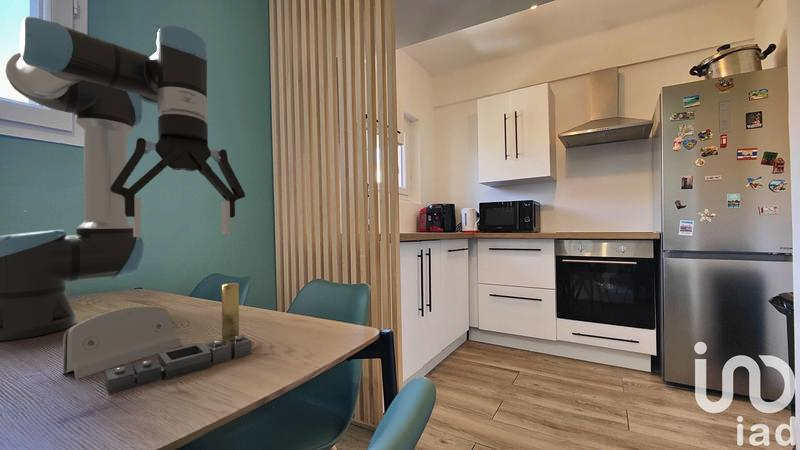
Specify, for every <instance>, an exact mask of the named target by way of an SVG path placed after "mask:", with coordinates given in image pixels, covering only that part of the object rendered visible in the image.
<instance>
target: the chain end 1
mask: <svg viewBox="0 0 800 450" xmlns="http://www.w3.org/2000/svg"><path fill="white" fill-rule="evenodd" d="M195 354H197V353H193V354H189V355H185V356H181V357H177V358H172V359H171V360H174V359H178V358H182V357H186V356H190V355H195ZM210 368H212V364H211V360H208V361H205V362H201V363H197V364H193V365H190V366H186V367H182V368H178V369H175V370H171V371H167V372H166V371H165V369H164V368H163V367H162V365H161V364H160V362H159V361H158V359H156V358H152V359H147V360H143V361H139V362H135V363H132V366H131V364H127V365H122V366H121V365H120V366H116V367H113V368H110V369H107V370H104V373H105V374H104V377H105V380H104V383H105V388H106V392H107V394H108V395H110V394H113V393H116V392H119V391H123V390H127V389H131V388H134V387H136V386H137V387H138V386H142V385H145V384H146V385H147V384H148V383H153V382H156V381H159V380H162V378H164V380H166V381H167V380H172V379H174V378H175V379H176V378H178V377H182V376H185V375H188V374H193V373H196V372H199V371H203V370H207V369H210ZM135 385H136V386H135Z"/></svg>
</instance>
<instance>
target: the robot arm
mask: <svg viewBox="0 0 800 450" xmlns="http://www.w3.org/2000/svg"><path fill="white" fill-rule="evenodd" d="M21 22H22V23H21V26H20V31H19V52H18V53H15V54H13V55H11V57H9V58H8V59H7V61H5V64H4V69H3V70H4V76H5V78H6V80H7V82H8V83H9V85H10V86H11V87H12V88H13V89H14V90H15V91H17V92H18V93H19V94H21V96H23V97H25V98H26V99H28V100H30V101H32V102H34V103H36V104H39V105H40V106H43V107H45V108H46V107H47V108H49V109H51V110H52V109H53V110H56V111H59V112H64V113H69V114H74V115H75V123H76V124H77V125H79V127H81V128H82V129H83V178H84V180H83V181H84V183H83V185H84V186H83V188H84V189H83V193H84V196H83V197H84V198H83V199H84V203H83V205H84V215H83V216H84V220H83V222H82V223H80V224H79V225H77V227H76V228H75V229H76V230H75V231H76V234H67V232H66V231H65V230H64V229H53V230H52V229H51V230H41V231H31V232H30V231H29V232H21V233H13V234H4V235H0V342H1V341H11V340H12V341H13V340H21V339H25V338H26V339H27V338H32V337H37V336H38V337H39V336H42V335H47V334H51V333H55V332H59V331H63V330H67V329H69V328H71V327H73V326H75V325H77V321H76V318H77V317H76V315H77V314H76V312H75V311H74V309H73V307H72V305H71V302H70V301H69V298H68V296H67V294H66V291H67V290H66V284H67V282H79V281H88V280H97V279H106V278H107V279H108V278H111V279H114V278H119V277H125V276H129V275H132V274H134V273H135V272H136V271H137V270H138V268H139V267H140V265H141V262H142V259H143V255H144V254H143V253H144V242H143V241H144V239H143V236H142V215H141V214H142V212H141V211H142V209H141V208H142V207H141V205H142V202H141V201H142V200H141V197H138V196H137V197H135V196H136V194H137V193H139V192H140V191H141V190H142V189H144V187H145V186H147V184H149V183H150V182H151V181H152V180H153V179H154V178H156V177H157V176H158V175H159V174H160V173H161V172H162V171H163V170H164V169H166V168H167V167H169V168H170V169H171V170H175V171H182V170H183V171H187V172H195V171H198V173H200V174H201V175H202V176H204V178H205V179H206V180H207V181H208V182H209V183H210V185H211V186H212V187H214V189H215V190H216V191H217V192H218V194H220V195H221V197H222V198H223V199H224V200H223V201H221V202H220V204H221V206H220V209H221V211H220V212H221V215H220V216H221V235H222V236H226V235H227V236H230V235H231V218H235V216H236V201H238V200H239V199H240V200H241V199H244V198H245V197H246V193H245V191H244V190H243V187H242V186H241V184H240V181H239V179H238V178H237V175H236V174H235V172H234V170H233V168H232V166H231V165H230V162H229V159H228V153H227V150H226V149H220V150H215V149H214V150H211V149H210V147H209V145H208V144H209V143H208V142H209V141H208V139H209V136H208V133H209V131H208V129H209V128H208V126H209V125H208V123H207V122H206V121H207V120H208V62H209V60H208V57H207V45H206V41H204V39H203V37H201V36H200V35H199V34H198V33H196V32H195V31H192V30H190V29H188V28H185V27H183V26H179V25H178V26H177V25H164V26H161V27H160V28H159V29H158V31H157V34H156V35H157V37H156V41H155V44H156V52H154V53H153V54H152V55H147V54H144V53H142V52H138V51H136V50H133V49H130V48H127V47H125V46H121V45H118V44H115V43H112V42H110V41H106V40H104V39H101V38H98V37H95V36H92V35H91V34H87V33H84V32H82V31H81V32H80V31H79V30H75V29H72V28H70V27H67V26H64V25H62V24H61V23H58V22H53V21H48V20H46V19H42V18H38V17H35V16H25V17H23V19H22V21H21ZM142 101H143V102H145V103H147V104H151V105H156V106H157V113H158V114H159V116H158V117H157V126H158V127H157V131H158V133H157V135H158V136H157V141H156V142H152V141H148V140H146V139H145V138H143V137H138V138H137V139H136V141H135V144H134V149H133V150H134V152H133V154H132V155H131V156H130V158H129V159H128V157H127V156H128V155H127V153H128V152H127V151H128V150H127V149H128V148H127V147H128V146H127V142H128V139H127V138H128V137H127V136H128V135H129V134H130V133H132V132H134V127H135V126H138V125H140V124H141V122H142V119H143V117H142V116H143V103H142ZM153 150H154V151H155V152H156V153H157V155H158V156H159V157H160V158H161V160H160V161H158V163H156V164H155V165H154V166H153V167H152V168H151V169H149V171H147V172H145V174H144V175H143V176H141V177H139V179H137V181H136V182H134V183H133V184H132V185H131V186H130V187H129V188H128V179H129V177H130V176H131V174H132V173H133V172H134V171H135V168H136V167H137V165H138V164H139V163H140V161H141V159H142V158H143V157H144V155H148V154H149V153H150V152H151V151H153ZM210 157H211V158H212V159H213V161H214V162H216V163H217V165H218V167H219V169H220V171H221V173H222V175H223V177H224V178H225V180H226V182H227V185H228V186H229V187H228V186H227V185H226V184H225V183H224V182H223V180H222V179H221V178H220V177H219V176H218V175H217V174H216V173H215V171H214V170H213V169H212V167H211V166H210V165H209V164H208V162H207V161H208V159H209V158H210ZM127 160H128V161H127ZM129 217H130V218H133V219H132V220H133V221H132V222H133V224H131V223H130V222H128V218H129Z"/></svg>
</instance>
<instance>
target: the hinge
mask: <svg viewBox="0 0 800 450" xmlns="http://www.w3.org/2000/svg"><path fill="white" fill-rule="evenodd" d="M62 343H63V345H62V347H63V348H62V374H63V375H64V374H67V373H71V372H73V373H74V378H75V380H78V379H81V378H84V377H87V376H90V375H94V374H97V373H100V372H102V371H105V370H109V369H114V368H117V367H120V366H121V365H122V366H124V365H125V364H128V363H131V362H134V361H139V360H140V359H145V358H147V357H151V356H154V355H158V353H159V352H163V351H168V350H172V349H176V348H181V347H182V342H181V338H180V336H179V335H178V334H177V333H176V331H175V328H174V325H173V323H172V319H171V317H170V313H169V311H168V309H167V308H165V307H158V306H136V307H135V306H134V307H127V308H120V309H116V310H115V309H114V310H112V311H107V312H103V313H101V314H100V313H99V314H97V315H95V316H93V317H90V318H88V319H85V320H83V321H80V322H79V323H76V324H75V325H73V326H71V327H69V328H67V329H66V331H65V332H64V334H63V342H62Z"/></svg>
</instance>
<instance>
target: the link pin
mask: <svg viewBox="0 0 800 450" xmlns="http://www.w3.org/2000/svg"><path fill="white" fill-rule="evenodd" d="M239 286H240V284H239V282H227V283H223V284H221V340H222V339H223V340H226V338H230V337H235V336H238V335H240V305H239V304H240V293H239V292H240V291H239V289H240V287H239Z"/></svg>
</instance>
